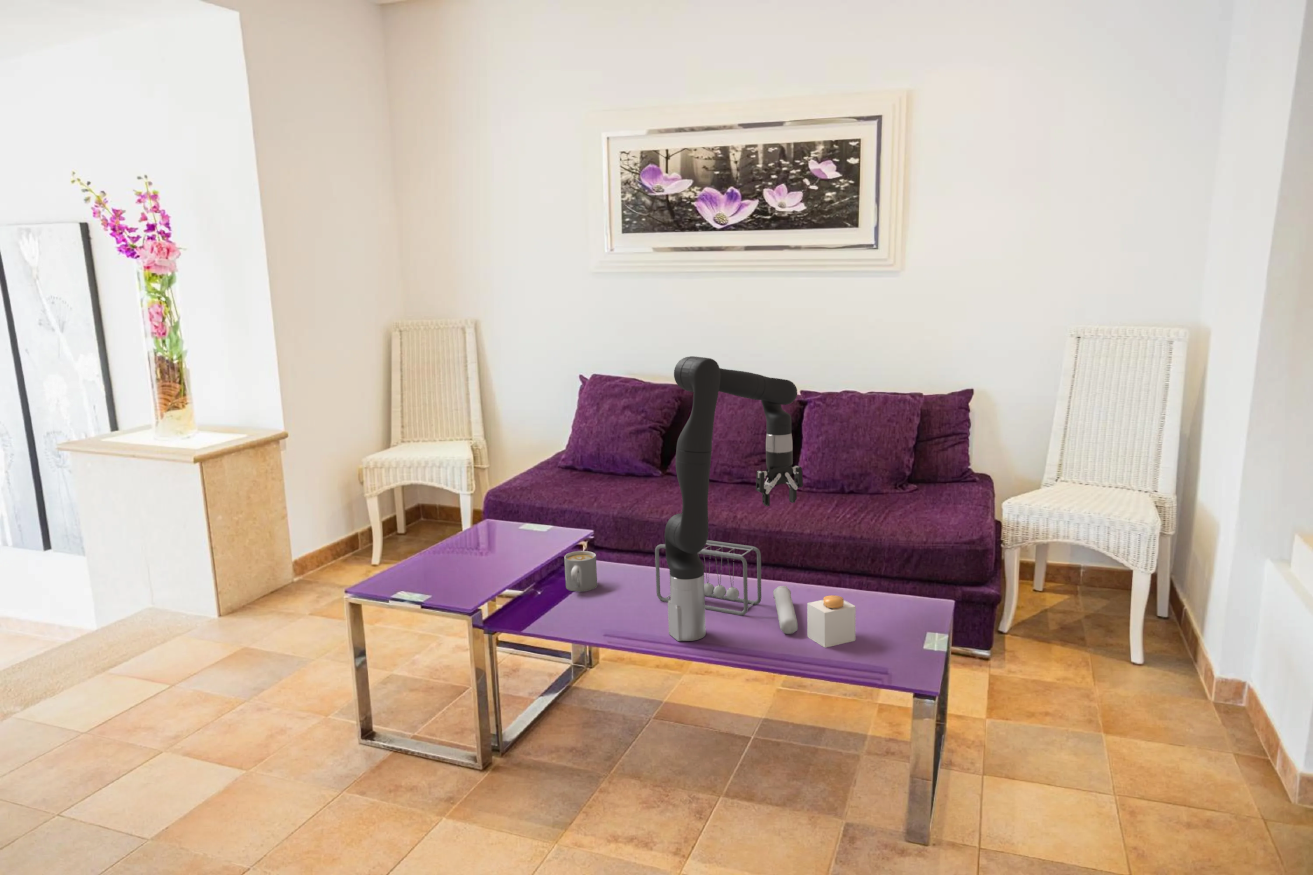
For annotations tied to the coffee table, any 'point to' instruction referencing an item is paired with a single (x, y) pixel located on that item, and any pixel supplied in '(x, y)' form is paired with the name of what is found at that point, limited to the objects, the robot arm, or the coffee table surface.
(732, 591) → the newton's cradle
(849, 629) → the housing
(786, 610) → the tube
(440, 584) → the coffee table surface
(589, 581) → the coffee mug
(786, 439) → the robot arm
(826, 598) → the orange rounded lump
